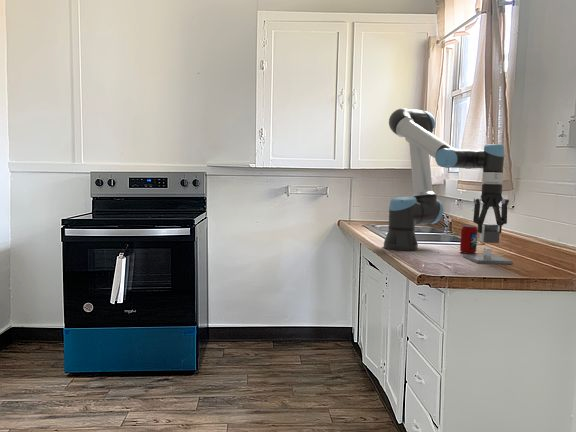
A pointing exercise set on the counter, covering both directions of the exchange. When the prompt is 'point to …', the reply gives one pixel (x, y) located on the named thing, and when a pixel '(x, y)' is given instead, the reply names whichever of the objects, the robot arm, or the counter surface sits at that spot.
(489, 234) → the knob
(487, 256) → the hub
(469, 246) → the beverage can
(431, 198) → the robot arm
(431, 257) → the counter surface
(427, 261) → the counter surface
